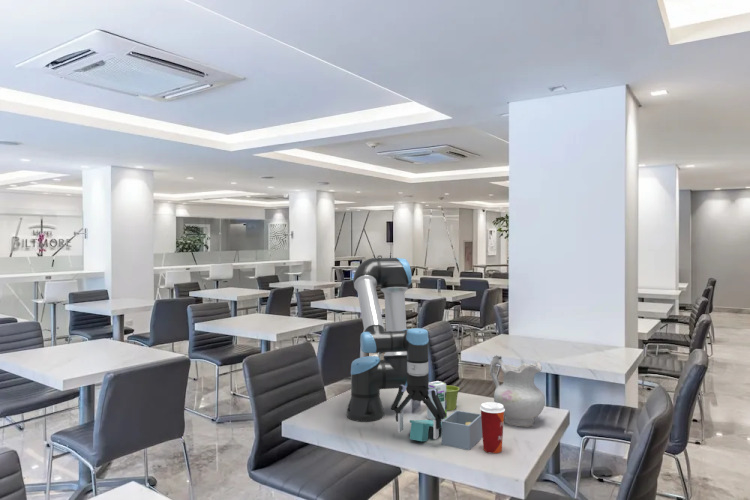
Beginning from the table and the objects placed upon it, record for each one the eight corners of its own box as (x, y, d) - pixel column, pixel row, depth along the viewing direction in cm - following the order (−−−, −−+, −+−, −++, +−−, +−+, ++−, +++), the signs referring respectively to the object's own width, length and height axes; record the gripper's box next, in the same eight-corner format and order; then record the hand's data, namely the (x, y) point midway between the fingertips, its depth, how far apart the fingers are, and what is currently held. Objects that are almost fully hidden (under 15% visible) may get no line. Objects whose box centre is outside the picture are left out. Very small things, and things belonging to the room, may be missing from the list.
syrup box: (435, 422, 198) (435, 385, 198) (426, 418, 203) (426, 382, 203) (447, 419, 201) (446, 383, 201) (437, 415, 206) (437, 380, 206)
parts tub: (469, 450, 170) (469, 426, 171) (441, 444, 175) (441, 421, 176) (482, 436, 183) (482, 414, 183) (456, 432, 188) (456, 410, 188)
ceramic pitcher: (482, 426, 197) (480, 363, 195) (495, 408, 214) (493, 350, 212) (540, 435, 187) (539, 369, 185) (548, 416, 204) (548, 355, 202)
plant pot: (442, 412, 210) (441, 391, 210) (434, 406, 219) (434, 386, 219) (463, 411, 212) (463, 390, 212) (454, 404, 221) (454, 384, 221)
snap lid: (429, 443, 173) (431, 425, 175) (401, 437, 179) (403, 420, 180) (453, 440, 193) (454, 424, 194) (427, 435, 198) (429, 419, 199)
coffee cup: (508, 454, 167) (508, 408, 167) (484, 455, 166) (483, 409, 166) (500, 444, 175) (500, 400, 175) (476, 445, 175) (476, 401, 175)
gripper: (381, 371, 181) (381, 431, 181) (447, 380, 168) (447, 444, 168) (391, 367, 187) (391, 425, 187) (455, 375, 175) (455, 437, 175)
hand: (418, 434), depth 178 cm, fingers open, 13 cm apart
